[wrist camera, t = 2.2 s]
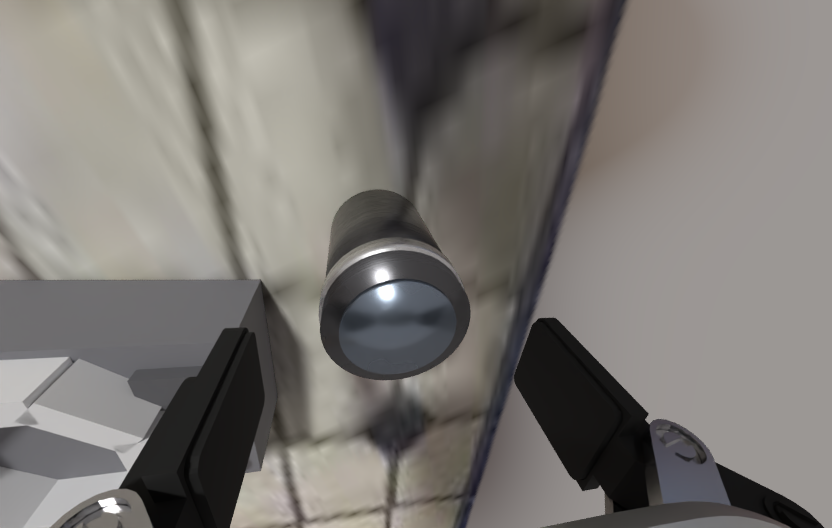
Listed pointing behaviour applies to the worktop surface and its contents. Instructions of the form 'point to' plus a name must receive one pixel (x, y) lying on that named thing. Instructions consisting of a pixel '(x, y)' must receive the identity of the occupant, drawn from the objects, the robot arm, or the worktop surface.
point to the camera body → (104, 379)
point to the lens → (388, 291)
